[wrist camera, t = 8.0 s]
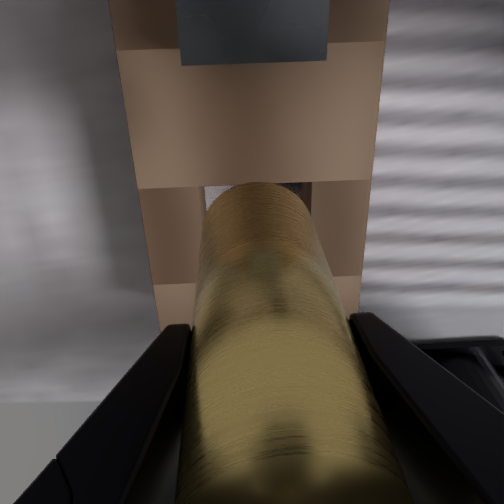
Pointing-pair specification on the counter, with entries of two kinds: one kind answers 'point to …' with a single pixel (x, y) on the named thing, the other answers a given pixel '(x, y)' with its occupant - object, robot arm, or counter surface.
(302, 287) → the brass rod
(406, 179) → the counter surface
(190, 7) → the gray rectangular block
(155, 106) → the socket block
